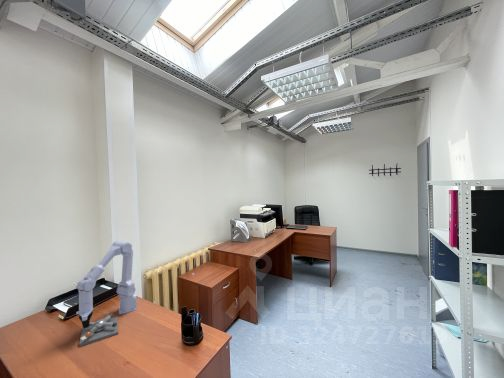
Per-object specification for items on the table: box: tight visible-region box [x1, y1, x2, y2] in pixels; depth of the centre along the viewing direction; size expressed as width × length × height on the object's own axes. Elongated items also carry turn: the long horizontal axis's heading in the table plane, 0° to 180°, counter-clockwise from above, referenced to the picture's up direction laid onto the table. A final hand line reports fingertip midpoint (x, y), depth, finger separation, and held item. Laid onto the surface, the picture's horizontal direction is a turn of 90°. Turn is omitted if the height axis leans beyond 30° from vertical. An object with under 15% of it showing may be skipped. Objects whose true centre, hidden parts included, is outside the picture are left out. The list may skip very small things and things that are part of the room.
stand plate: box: [78, 316, 119, 348], centre depth 115 cm, size 16×16×1 cm
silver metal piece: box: [85, 312, 117, 338], centre depth 115 cm, size 18×18×4 cm
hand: (86, 327), depth 113 cm, fingers closed, pressing on silver metal piece
